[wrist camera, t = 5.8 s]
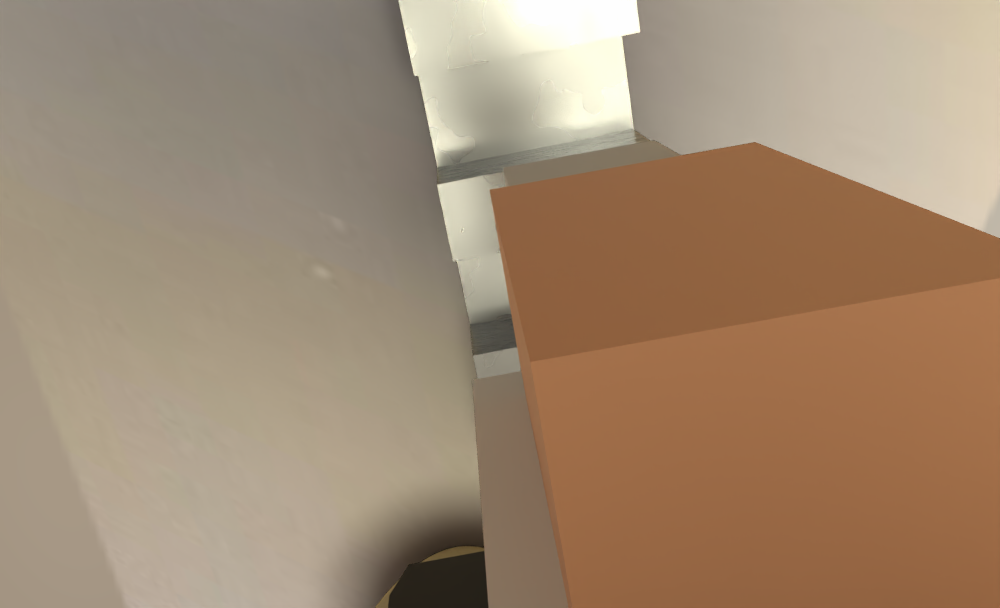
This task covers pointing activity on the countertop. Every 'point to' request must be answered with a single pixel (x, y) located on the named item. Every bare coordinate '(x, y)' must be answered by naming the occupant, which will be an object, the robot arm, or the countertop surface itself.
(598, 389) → the orange block
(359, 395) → the countertop surface
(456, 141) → the grey block fixture
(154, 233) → the countertop surface
